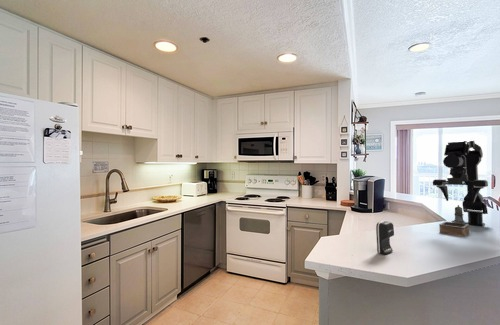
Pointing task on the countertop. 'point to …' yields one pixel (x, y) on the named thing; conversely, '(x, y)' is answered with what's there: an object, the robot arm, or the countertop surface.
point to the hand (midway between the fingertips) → (459, 201)
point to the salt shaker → (459, 216)
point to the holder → (454, 228)
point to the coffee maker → (384, 236)
